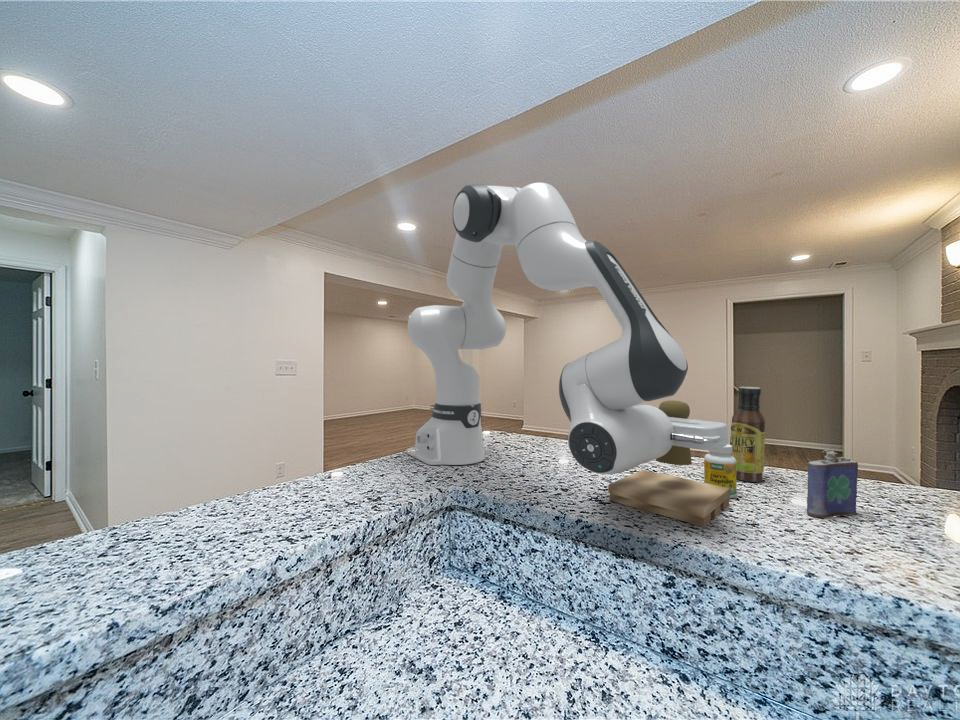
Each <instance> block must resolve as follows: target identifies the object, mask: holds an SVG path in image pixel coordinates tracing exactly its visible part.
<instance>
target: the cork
mask: <svg viewBox="0 0 960 720" xmlns="http://www.w3.org/2000/svg"><path fill="white" fill-rule="evenodd" d="M658 409H660V410H661V411H663V412H664V413H665V414H666V415H667V416H668V417H674V418H683V419H689V416H690V413H691V408H690V406H689V404H688V403H687V402H684V401H681V400H665V401H662V402H661V403H660V404H659V406H658ZM691 453H692V452H691V448H686V447H679V446H673V445H672V447H671V449H670V450H669V451H668V452H667V453H666V454H665V455H664V456H662V457H659V458H657V459H655V460H656V461H657V462H659V463H662V464H668V465H673V466H674V465H675V466H690V465H692V464H693V462H692V456H691V455H692V454H691Z"/></svg>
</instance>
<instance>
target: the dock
mask: <svg viewBox="0 0 960 720" xmlns="http://www.w3.org/2000/svg"><path fill="white" fill-rule="evenodd" d="M607 487H608V488H607V489H608V494H609V501H610V500H612V501H611V502H614V501H615V502H614V503H617V502H618V504H621V505H625V506H629V507H632V508H636V509H639V510H642V511H645V512H649V513H653V514H656V515H661V516H664V517H668V518H671V519H674V520H678V521H681V522H682V521H683V522H685V523H688V524H692V525H696V526H699V527H702V526H703V528H705V527H706V526H708V525H709V524H710V523H711V521H712V518H713V519H715V518H717V517H718V516H719V515H720V514H721V510H723V511H724V510H726V509H727V508H729V506H730V498H729V497H730V488H727V487H722V486H717V485H712V484H707V483H704V481H703V482H702V481H697V480H692V479H687V478H684V477H680V476H673V475H668V474H663V473H660V472H655V471H649V470H645V469H641V470H639V471H638V470H637V471H636V472H633V473H631V474H630V475H626V476H625V477H623V478H620V479H619V480H616V481H613V482H612V483H610V484H608V486H607Z"/></svg>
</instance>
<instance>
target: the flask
mask: <svg viewBox="0 0 960 720" xmlns="http://www.w3.org/2000/svg"><path fill="white" fill-rule="evenodd" d="M824 452H825V453H826V454H825V455H824V459H820V460H812V461H811V460H810V461H809V462H807V499H806V514H807V515H808V516H811V517H813V518H815V519H816V518H821V519H828V518H834V517H833V516H839V517H840V516H843V515H845V516H852V515H853V516H855V515H854V514H856V515H857V507H856V506H857V495H858V489H857V487H858V471H859V465H858V464H859V463H858V461H855V460H852V459H851V458H846V457H844V456H840V457H837V456H836V455H838V453H837V452H835V451H834V450H831V449H824V450H822V453H824ZM843 517H844V516H843Z"/></svg>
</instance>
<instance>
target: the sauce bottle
mask: <svg viewBox="0 0 960 720" xmlns="http://www.w3.org/2000/svg"><path fill="white" fill-rule="evenodd" d="M761 391H762V388H761V387H758V386H738V390H737V393H738V395H739V396H738V404H737V406H738V407H737V409H736V410H735V412H734V414H733V415H732V418H731V423H730V438H729V445H732V453H731V456H733V457H734V458H735V459H736V480H740V481H743V482H749V483H760V482H762V480H763V475H764V472H765V471H764V470H765V469H764V468H765V467H764V466H765V446H766V445H765V444H766V420H765V417H764V415H763V413H761V411H760V407H761V406H760V396H761V393H762V392H761Z"/></svg>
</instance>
